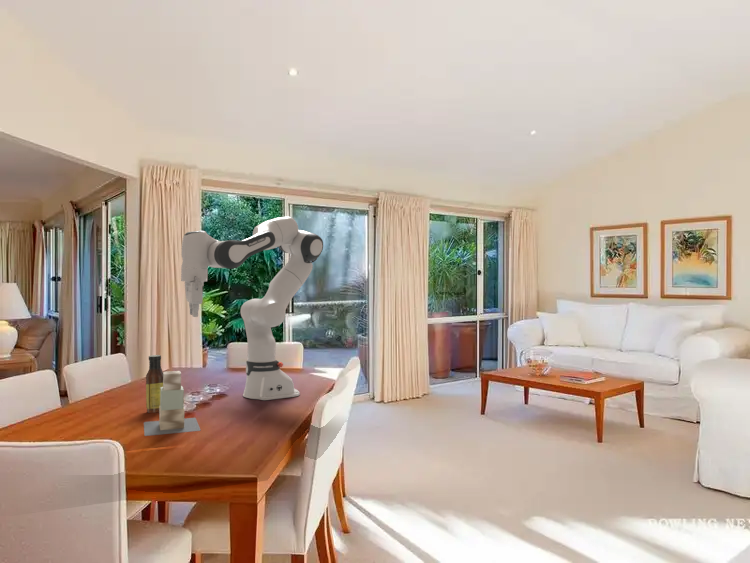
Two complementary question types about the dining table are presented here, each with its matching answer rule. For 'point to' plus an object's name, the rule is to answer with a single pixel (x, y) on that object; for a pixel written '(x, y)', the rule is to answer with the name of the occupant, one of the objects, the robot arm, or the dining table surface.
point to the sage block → (172, 399)
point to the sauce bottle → (154, 384)
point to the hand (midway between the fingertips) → (193, 315)
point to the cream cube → (172, 380)
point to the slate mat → (154, 429)
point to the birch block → (171, 419)
